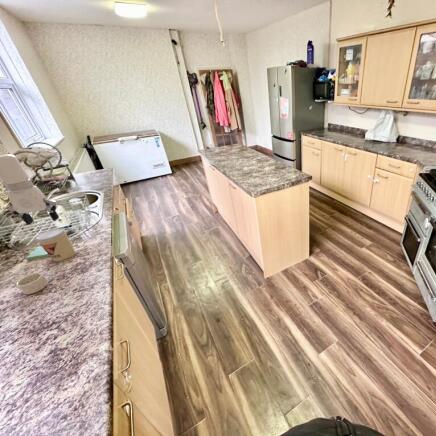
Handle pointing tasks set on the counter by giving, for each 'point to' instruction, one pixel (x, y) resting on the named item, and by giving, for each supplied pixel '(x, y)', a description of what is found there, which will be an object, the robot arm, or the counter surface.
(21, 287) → the bowl
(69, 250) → the coffee cup
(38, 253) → the light green flat piece
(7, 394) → the counter surface
